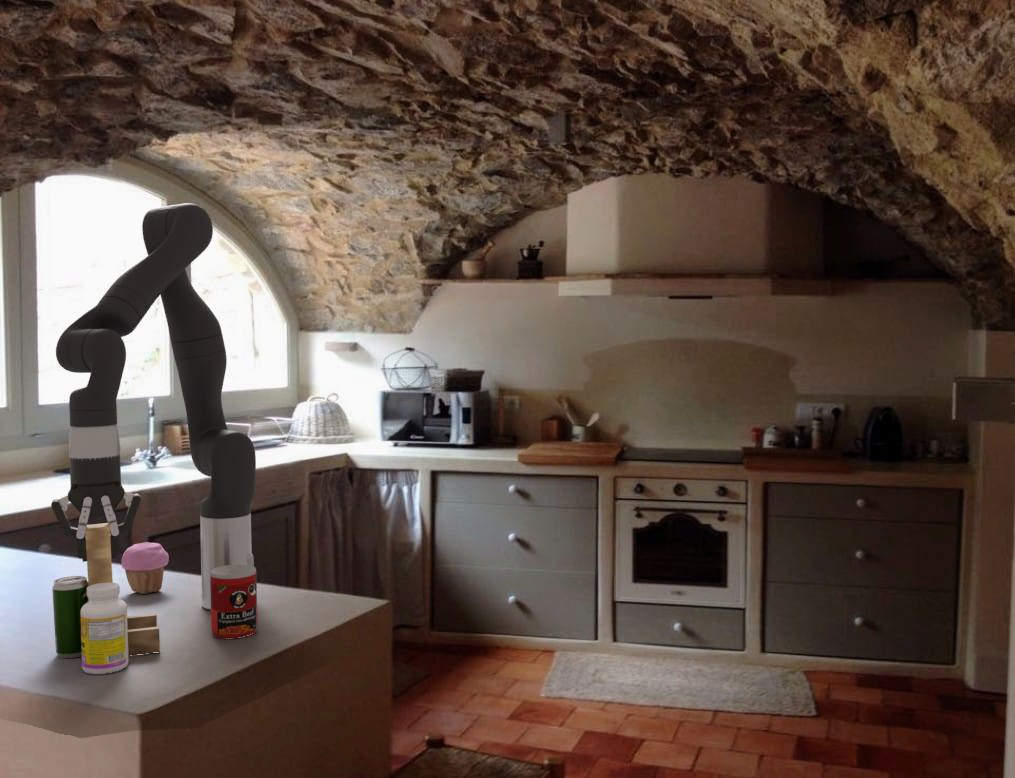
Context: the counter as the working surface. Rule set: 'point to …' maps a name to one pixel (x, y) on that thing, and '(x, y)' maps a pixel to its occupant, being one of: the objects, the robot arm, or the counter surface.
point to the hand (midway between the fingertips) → (98, 558)
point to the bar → (98, 554)
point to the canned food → (233, 601)
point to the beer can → (69, 614)
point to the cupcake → (145, 566)
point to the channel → (143, 634)
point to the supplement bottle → (104, 630)
